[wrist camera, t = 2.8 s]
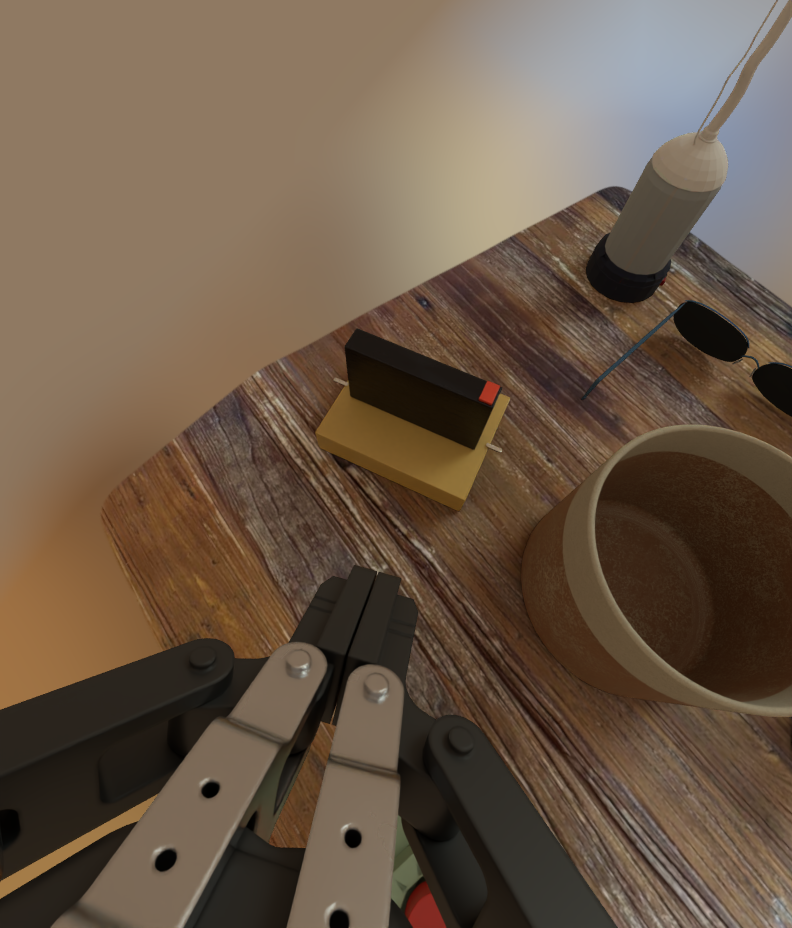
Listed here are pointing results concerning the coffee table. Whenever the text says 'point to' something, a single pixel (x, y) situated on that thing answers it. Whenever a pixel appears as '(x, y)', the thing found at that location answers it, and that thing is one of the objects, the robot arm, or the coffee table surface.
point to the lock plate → (405, 448)
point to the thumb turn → (419, 388)
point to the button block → (404, 870)
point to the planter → (673, 573)
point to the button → (423, 909)
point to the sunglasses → (722, 350)
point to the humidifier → (670, 197)
